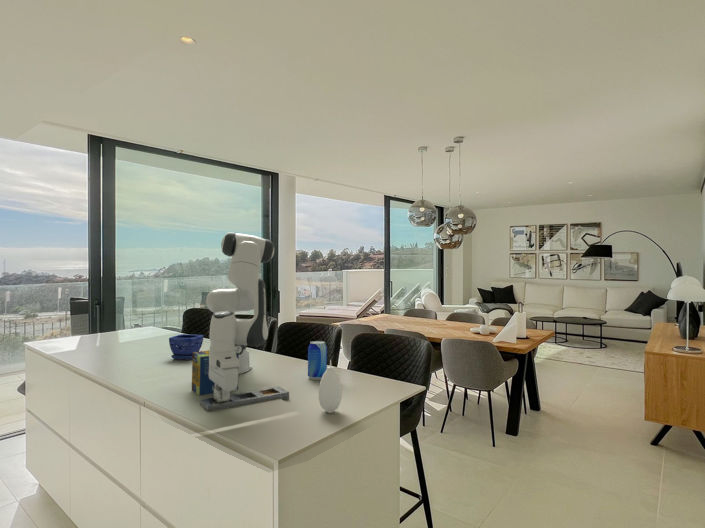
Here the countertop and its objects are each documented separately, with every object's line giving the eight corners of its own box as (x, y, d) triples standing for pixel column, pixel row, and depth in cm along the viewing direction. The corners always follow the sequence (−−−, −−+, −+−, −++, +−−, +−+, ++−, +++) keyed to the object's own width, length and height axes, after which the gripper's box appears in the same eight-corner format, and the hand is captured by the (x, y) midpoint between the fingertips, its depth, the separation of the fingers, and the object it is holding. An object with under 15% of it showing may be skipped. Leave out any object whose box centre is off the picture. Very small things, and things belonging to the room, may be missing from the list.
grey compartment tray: (200, 406, 143) (200, 399, 143) (278, 392, 161) (278, 386, 161) (207, 414, 136) (208, 406, 136) (289, 398, 154) (289, 392, 154)
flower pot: (181, 355, 228) (181, 333, 228) (203, 356, 226) (204, 334, 226) (167, 360, 215) (168, 337, 215) (191, 361, 213) (191, 338, 213)
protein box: (191, 391, 161) (191, 351, 162) (229, 385, 170) (230, 347, 171) (198, 398, 153) (199, 356, 153) (238, 391, 162) (239, 352, 162)
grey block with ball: (213, 403, 144) (213, 387, 144) (225, 401, 146) (225, 385, 146) (217, 407, 140) (217, 390, 140) (229, 405, 143) (229, 388, 143)
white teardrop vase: (314, 414, 138) (315, 360, 138) (324, 407, 145) (325, 356, 145) (336, 417, 135) (336, 362, 135) (344, 409, 142) (345, 358, 142)
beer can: (303, 377, 183) (304, 342, 184) (317, 374, 189) (318, 339, 190) (316, 381, 178) (317, 344, 178) (330, 378, 184) (330, 342, 184)
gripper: (204, 353, 150) (203, 391, 150) (222, 365, 133) (222, 407, 133) (221, 352, 154) (220, 389, 153) (241, 362, 137) (240, 404, 137)
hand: (221, 397), depth 143 cm, fingers closed on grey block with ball, 4 cm apart
